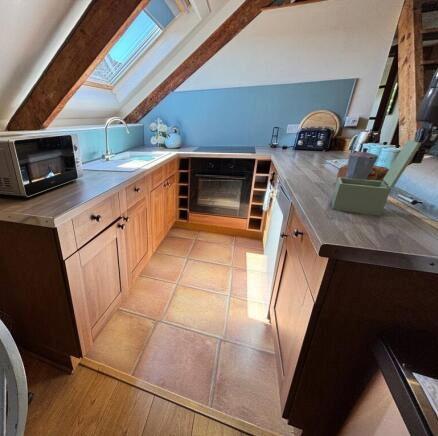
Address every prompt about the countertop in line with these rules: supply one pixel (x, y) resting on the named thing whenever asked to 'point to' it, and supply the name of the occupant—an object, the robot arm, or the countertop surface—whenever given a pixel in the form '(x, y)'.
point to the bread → (375, 174)
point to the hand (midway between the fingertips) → (415, 162)
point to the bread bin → (360, 196)
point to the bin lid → (401, 162)
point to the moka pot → (360, 164)
